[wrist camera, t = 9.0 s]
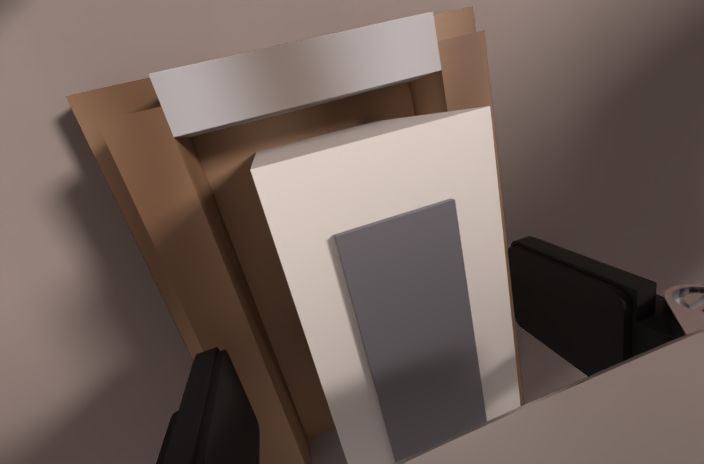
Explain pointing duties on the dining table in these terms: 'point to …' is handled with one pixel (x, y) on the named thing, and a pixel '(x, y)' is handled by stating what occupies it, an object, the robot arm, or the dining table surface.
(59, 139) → the dining table surface
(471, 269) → the white rectangular box
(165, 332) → the dining table surface
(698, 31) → the dining table surface
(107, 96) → the brown shallow tray
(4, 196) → the dining table surface
